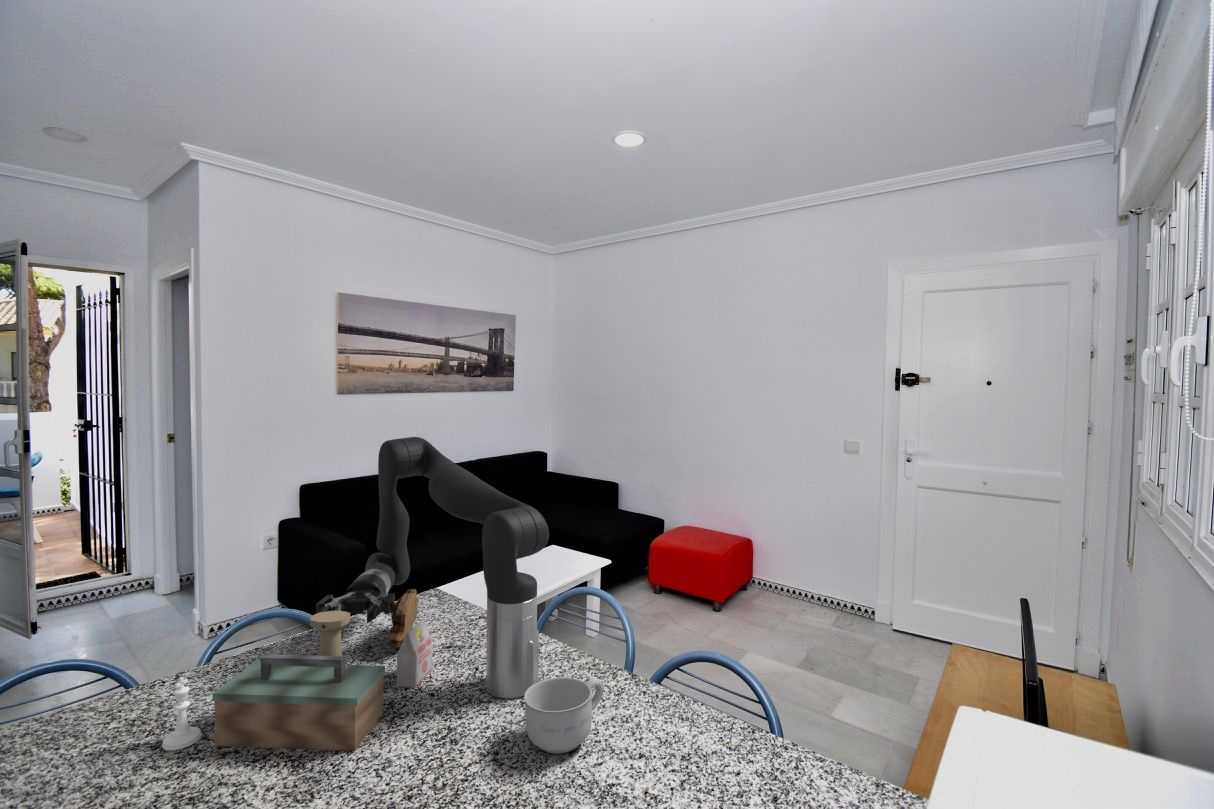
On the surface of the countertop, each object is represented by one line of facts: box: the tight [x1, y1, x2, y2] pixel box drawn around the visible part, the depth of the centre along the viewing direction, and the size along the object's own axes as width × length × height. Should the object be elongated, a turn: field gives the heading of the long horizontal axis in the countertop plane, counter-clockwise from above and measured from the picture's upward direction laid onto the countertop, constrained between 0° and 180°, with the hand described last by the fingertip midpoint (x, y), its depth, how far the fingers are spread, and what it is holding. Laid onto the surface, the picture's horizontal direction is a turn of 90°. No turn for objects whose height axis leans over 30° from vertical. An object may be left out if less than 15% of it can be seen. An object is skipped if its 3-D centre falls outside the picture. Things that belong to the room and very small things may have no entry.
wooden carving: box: [387, 588, 420, 648], centre depth 123 cm, size 16×5×10 cm, turn 10°
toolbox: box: [212, 653, 386, 752], centre depth 96 cm, size 23×18×12 cm
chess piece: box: [161, 676, 202, 751], centre depth 88 cm, size 5×5×10 cm
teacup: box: [523, 676, 604, 755], centre depth 90 cm, size 14×11×8 cm
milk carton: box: [396, 619, 433, 689], centre depth 108 cm, size 4×7×10 cm, turn 171°
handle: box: [309, 610, 351, 657], centre depth 100 cm, size 5×6×15 cm
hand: (345, 617), depth 110 cm, fingers open, 8 cm apart
